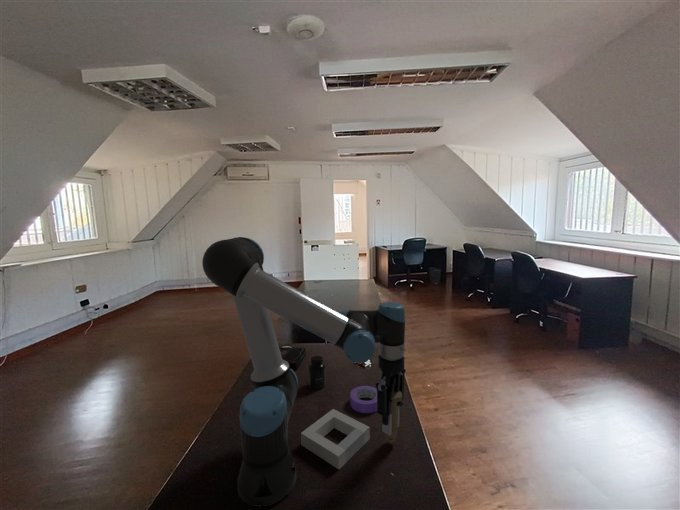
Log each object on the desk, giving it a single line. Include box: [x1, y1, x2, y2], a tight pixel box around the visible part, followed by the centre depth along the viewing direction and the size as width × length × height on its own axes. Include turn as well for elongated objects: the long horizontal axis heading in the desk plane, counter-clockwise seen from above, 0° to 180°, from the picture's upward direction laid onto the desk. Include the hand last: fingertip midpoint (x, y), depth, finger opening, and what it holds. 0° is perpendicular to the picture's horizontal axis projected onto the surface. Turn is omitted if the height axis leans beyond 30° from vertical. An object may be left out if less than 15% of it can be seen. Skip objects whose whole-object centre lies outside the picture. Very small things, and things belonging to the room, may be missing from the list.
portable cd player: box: [279, 346, 307, 371], centre depth 149 cm, size 16×17×4 cm
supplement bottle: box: [308, 355, 326, 390], centre depth 126 cm, size 7×7×12 cm
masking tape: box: [349, 385, 377, 414], centre depth 114 cm, size 12×12×4 cm
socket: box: [300, 408, 371, 470], centre depth 94 cm, size 15×15×4 cm
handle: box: [384, 391, 403, 444], centre depth 92 cm, size 5×6×15 cm
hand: (390, 428), depth 93 cm, fingers closed on handle, 4 cm apart
